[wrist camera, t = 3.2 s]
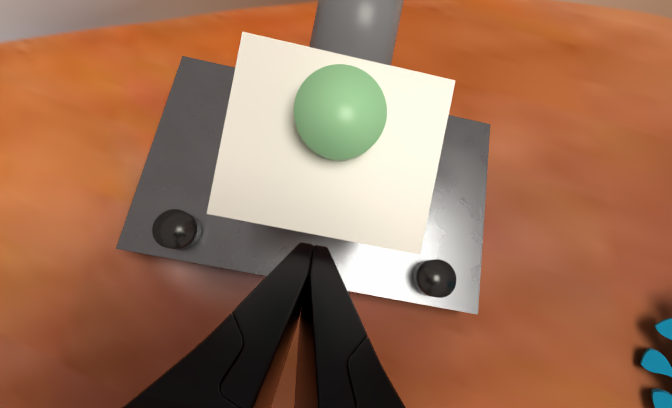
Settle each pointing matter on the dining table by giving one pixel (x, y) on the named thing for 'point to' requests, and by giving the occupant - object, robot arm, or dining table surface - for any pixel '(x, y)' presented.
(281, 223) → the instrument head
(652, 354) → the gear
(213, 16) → the dining table surface
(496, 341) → the dining table surface
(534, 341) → the dining table surface
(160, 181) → the base
